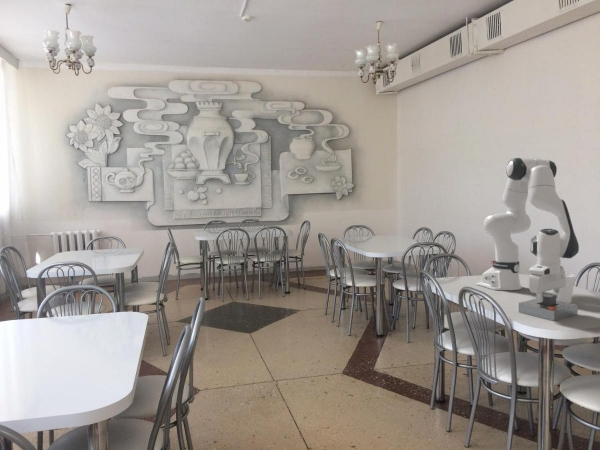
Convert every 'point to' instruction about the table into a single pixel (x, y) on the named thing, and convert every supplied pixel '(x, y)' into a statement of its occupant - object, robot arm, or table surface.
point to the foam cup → (566, 289)
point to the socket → (548, 309)
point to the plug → (548, 300)
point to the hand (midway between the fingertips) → (547, 300)
